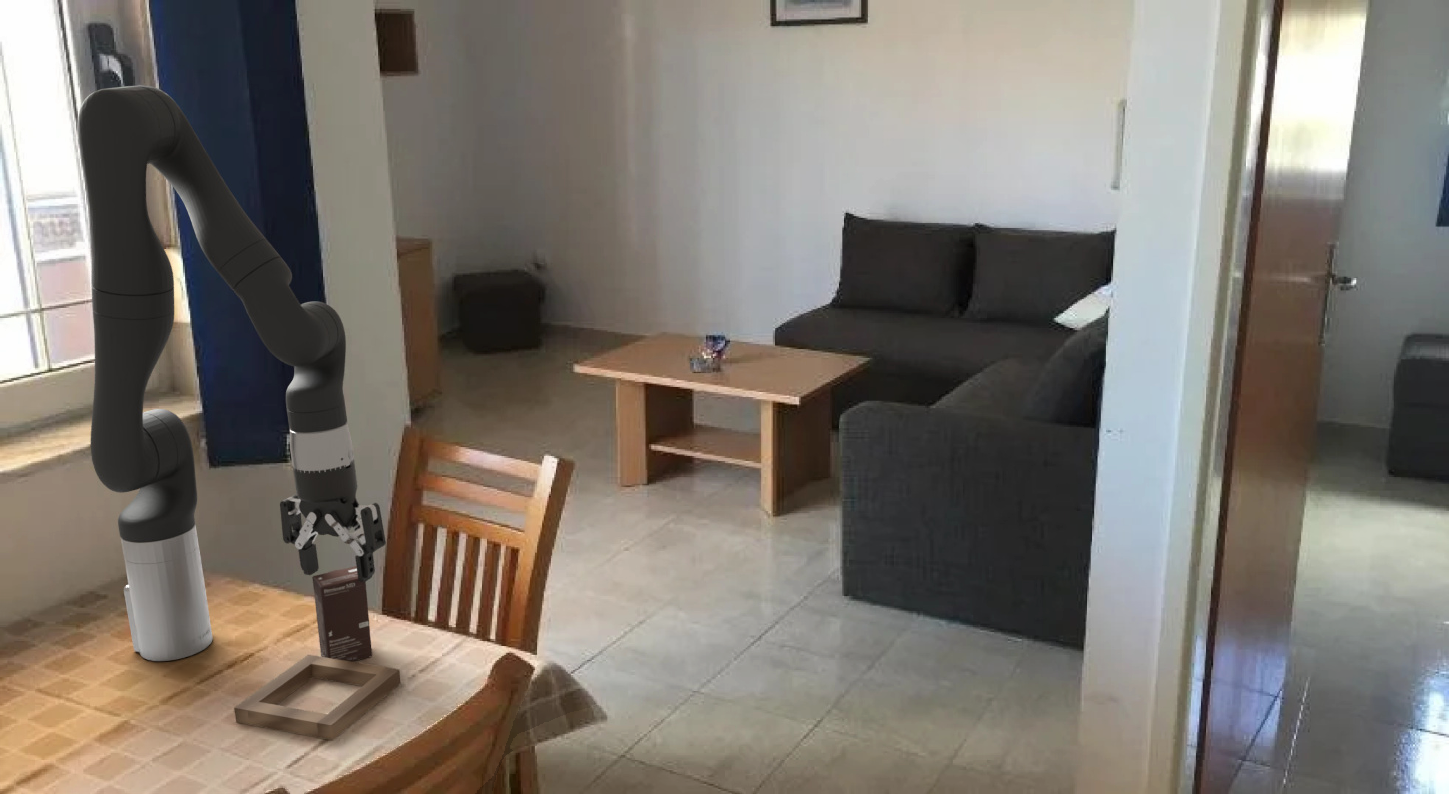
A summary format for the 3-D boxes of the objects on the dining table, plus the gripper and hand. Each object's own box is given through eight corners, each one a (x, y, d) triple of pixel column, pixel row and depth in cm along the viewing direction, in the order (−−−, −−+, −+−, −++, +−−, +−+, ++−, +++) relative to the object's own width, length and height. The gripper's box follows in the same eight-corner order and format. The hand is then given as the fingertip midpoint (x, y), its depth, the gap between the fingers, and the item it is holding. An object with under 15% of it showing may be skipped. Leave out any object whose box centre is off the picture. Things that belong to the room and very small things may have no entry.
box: (330, 670, 155) (319, 586, 152) (320, 657, 159) (310, 575, 156) (375, 657, 159) (366, 575, 155) (365, 645, 162) (355, 564, 159)
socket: (235, 722, 143) (233, 707, 143) (309, 668, 156) (308, 654, 156) (332, 740, 139) (331, 725, 138) (400, 683, 152) (399, 669, 151)
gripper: (257, 464, 150) (275, 582, 154) (351, 472, 145) (367, 593, 150) (296, 447, 157) (312, 560, 161) (387, 454, 152) (401, 570, 156)
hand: (338, 576), depth 155 cm, fingers open, 8 cm apart
